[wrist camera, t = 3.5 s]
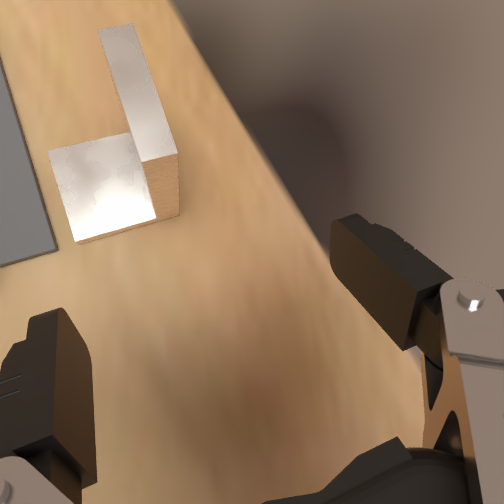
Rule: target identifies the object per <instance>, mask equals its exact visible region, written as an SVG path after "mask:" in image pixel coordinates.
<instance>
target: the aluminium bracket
mask: <svg viewBox="0 0 504 504" xmlns="http://www.w3.org/2000/svg"><path fill="white" fill-rule="evenodd" d="M97 30H98V33H99V37H100V40H101V43H102V47H103V50H104V54H105V57H106V60H107V64H108V67H109V70H110V74H111V77H112V81H113V84H114V87H115V91H116V94H117V97H118V101H119V104H120V107H121V111H122V114H123V118H124V121H125V124H126V128H127V131H128V132H127V133H123V134H118V135H114V136H110V137H105V138H101V139H97V140H92V141H88V142H84V143H79V144H75V145H71V146H66V147H62V148H58V149H53V150H49V151H47V152H48V155H49V158H50V162H51V165H52V168H53V171H54V175H55V178H56V181H57V184H58V188H59V191H60V194H61V197H62V201H63V204H64V207H65V210H66V214H67V217H68V220H69V223H70V227H71V230H72V233H73V236H74V240H75V242H77V243H78V244H83V243H86V242H90V241H93V240H96V239H100V238H103V237H107V236H110V235H114V234H117V233H120V232H124V231H127V230H131V229H134V228H138V227H141V226H144V225H148V224H151V223H155V222H158V221H162V220H165V219H168V218H172V217H175V216H179V181H178V152H177V149H176V146H175V143H174V140H173V137H172V134H171V131H170V129H169V126H168V123H167V120H166V117H165V114H164V111H163V108H162V105H161V102H160V99H159V97H158V94H157V91H156V88H155V85H154V82H153V79H152V76H151V73H150V70H149V67H148V64H147V62H146V59H145V56H144V53H143V50H142V47H141V44H140V41H139V38H138V35H137V32H136V30H135V27H134V24H128V25H122V26H115V27H109V28H103V29H97Z"/></svg>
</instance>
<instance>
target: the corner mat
mask: <svg viewBox="0 0 504 504" xmlns="http://www.w3.org/2000/svg"><path fill="white" fill-rule="evenodd" d="M55 251H58V246H57V243H56V240H55V237H54V233H53V230H52V227H51V223H50V220H49V217H48V214H47V210H46V207H45V204H44V200H43V197H42V194H41V190H40V187H39V184H38V181H37V177H36V174H35V171H34V167H33V164H32V161H31V158H30V154H29V151H28V148H27V144H26V141H25V138H24V135H23V131H22V128H21V125H20V121H19V118H18V115H17V111H16V108H15V105H14V102H13V98H12V95H11V92H10V88H9V85H8V82H7V79H6V75H5V72H4V69H3V65H2V62H1V59H0V267H3V266H7V265H10V264H14V263H17V262H20V261H24V260H27V259H31V258H34V257H38V256H41V255H44V254H48V253H51V252H55Z"/></svg>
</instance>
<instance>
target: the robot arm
mask: <svg viewBox="0 0 504 504" xmlns="http://www.w3.org/2000/svg"><path fill="white" fill-rule="evenodd" d="M330 264H331V267H332V270H333V272H334V274H335V275H336V277H337V278H338V279H339V280H340V281H341V282H342V284H343V285H344V286H345V287H346V288H347V289H348V290H349V291H350V293H351V294H352V295H353V296H354V297H355V298H356V299H357V300H358V302H359V303H360V304H361V305H362V306H363V307H364V308H365V309H366V311H367V312H368V313H369V314H370V315H371V316H372V317H373V318H374V320H375V321H376V322H377V323H378V324H379V325H380V326H381V327H382V329H383V330H384V331H385V332H386V333H387V334H388V335H389V337H390V338H391V339H392V340H393V341H394V342H395V343H396V344H397V346H398V347H399V348H400V349H401V350H402V351H404V350H407V349H409V348H411V347H414V346H416V345H417V346H418V347H419V348H420V349H421V351H422V353H421V358H420V360H421V373H422V386H423V399H424V413H425V424H424V432H423V446H422V448H405V446H404V445H403V444H402V442H401V441H400V439H399V438H398V437H395V438H393V439H391V440H389V441H387V442H385V443H383V444H381V445H379V446H377V447H375V448H373V449H371V450H369V451H367V452H365V453H363V454H361V455H359V456H357V457H356V458H355V459H354V460H353V461H352V462H351V463H350V464H349V465H348V466H347V467H346V468H345V469H344V470H343V471H342V472H341V473H340V474H338V475H337V476H336V477H335V478H334V479H333V480H332V481H331V482H330V483H329V484H328V485H327V486H326V487H325V488H324V489H323V490H321V491H320V492H317V493H313V494H307V495H301V496H295V497H289V498H283V499H277V500H271V501H266V502H264V503H262V504H504V289H501V290H494V289H493V288H492V287H490V286H489V285H487V284H485V283H483V282H480V281H477V280H474V279H467V278H456V279H454V278H452V277H451V276H450V275H448V274H447V273H446V272H445V271H444V270H442V269H441V268H439V267H438V266H437V265H436V264H435V263H433V262H432V261H431V260H429V259H428V258H427V257H426V256H424V255H423V254H422V253H420V252H419V251H418V250H417V249H416V250H415V249H414V247H413V246H412V245H410V244H409V243H407V242H405V241H404V239H402V238H401V237H400V236H399V235H397V234H396V233H395V232H394V231H392V230H391V229H388V228H386V227H383V226H381V225H378V224H376V223H375V224H372V225H371V224H370V223H369V222H368V221H367V220H365V219H364V218H363V217H362V216H360V215H359V214H357V213H355V214H351V215H348V216H345V217H342V218H339V219H336V220H333V221H332V223H331V235H330ZM95 483H97V466H96V445H95V424H94V403H93V382H92V363H91V357H90V354H89V351H88V348H87V346H86V344H85V342H84V340H83V338H82V337H81V335H80V334H79V332H78V330H77V329H76V327H75V325H74V324H73V322H72V321H71V319H70V317H69V316H68V314H67V313H66V311H65V310H64V309H63V308H58V309H55V310H51V311H48V312H45V313H42V314H39V315H36V316H33V317H31V318H30V319H29V322H28V329H27V337H26V340H24V341H21V342H18V343H15V344H13V346H12V348H11V349H10V351H9V352H8V354H7V356H6V357H5V359H4V360H3V362H2V365H1V371H0V504H82V489H83V488H86V487H88V486H90V485H93V484H95Z"/></svg>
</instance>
